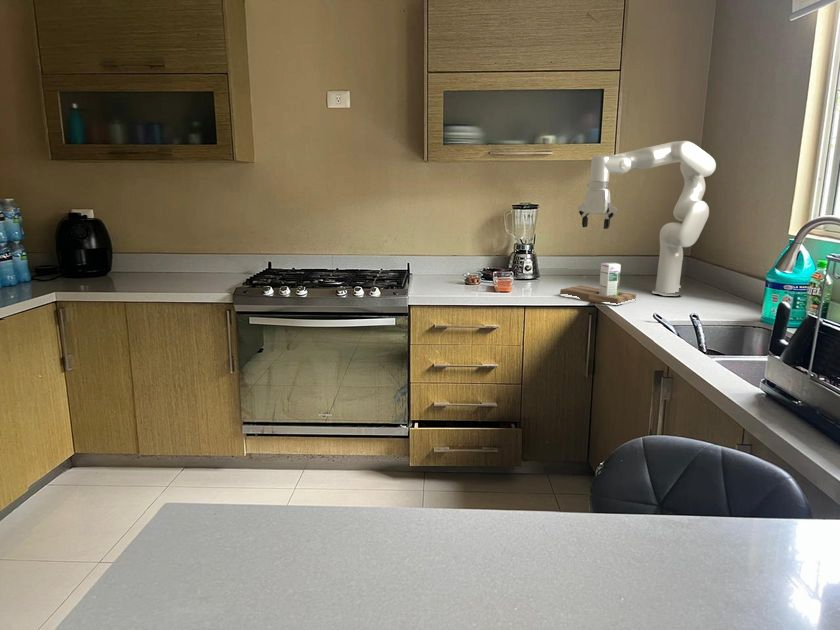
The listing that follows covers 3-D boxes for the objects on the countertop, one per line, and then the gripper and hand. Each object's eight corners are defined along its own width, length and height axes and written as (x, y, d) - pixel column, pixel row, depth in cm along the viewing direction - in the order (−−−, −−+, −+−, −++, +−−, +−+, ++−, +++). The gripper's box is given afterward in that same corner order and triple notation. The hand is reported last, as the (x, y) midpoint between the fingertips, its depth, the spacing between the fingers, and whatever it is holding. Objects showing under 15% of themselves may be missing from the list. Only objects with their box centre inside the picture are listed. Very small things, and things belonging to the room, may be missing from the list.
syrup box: (606, 299, 251) (609, 264, 248) (597, 296, 257) (601, 262, 253) (618, 299, 253) (621, 264, 250) (609, 296, 258) (613, 262, 255)
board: (579, 292, 273) (580, 285, 272) (635, 301, 255) (636, 294, 254) (560, 296, 261) (560, 289, 261) (616, 306, 244) (617, 299, 243)
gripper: (575, 185, 257) (572, 226, 261) (614, 186, 245) (610, 229, 249) (584, 185, 262) (580, 226, 266) (622, 186, 251) (618, 229, 255)
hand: (595, 227), depth 258 cm, fingers open, 9 cm apart
